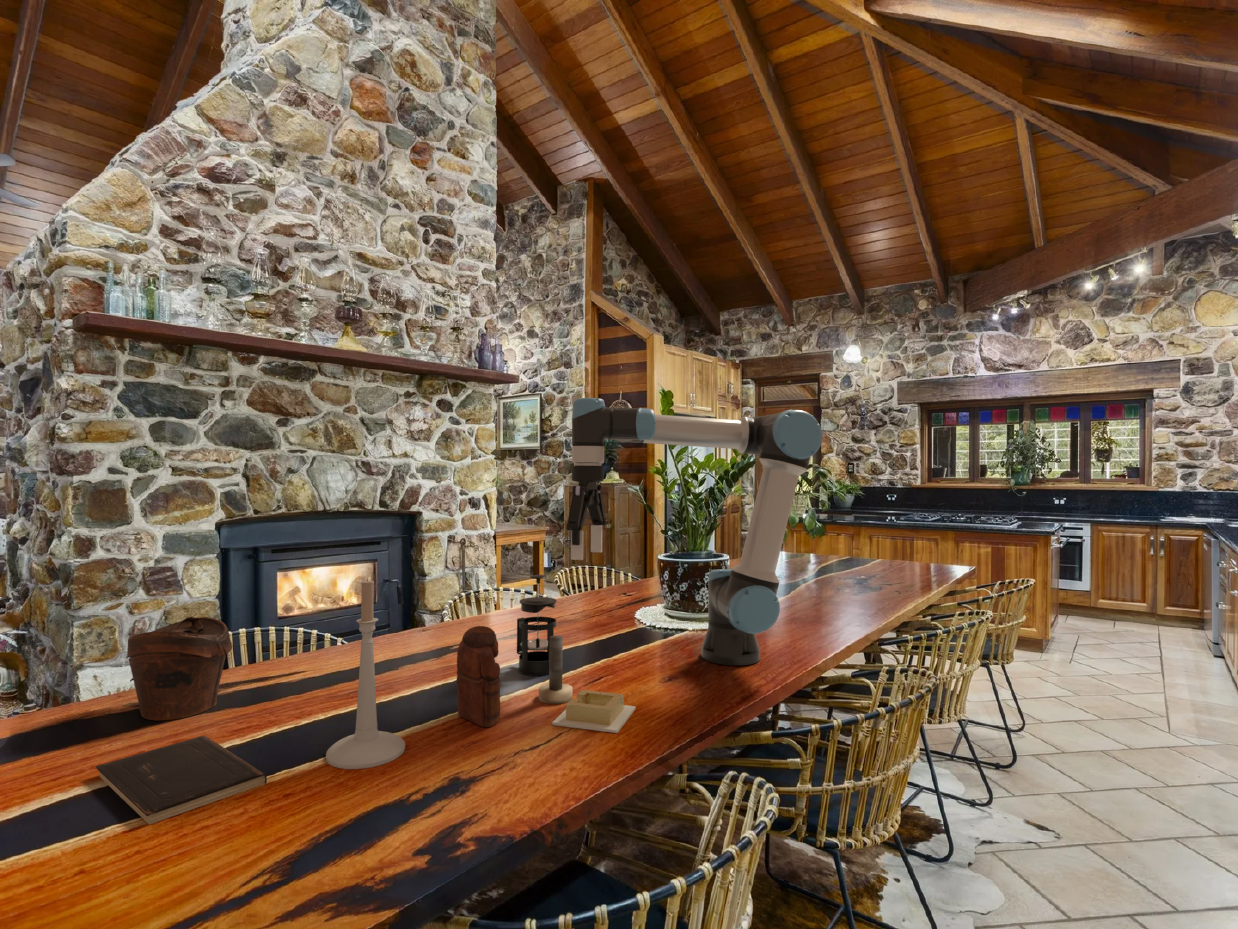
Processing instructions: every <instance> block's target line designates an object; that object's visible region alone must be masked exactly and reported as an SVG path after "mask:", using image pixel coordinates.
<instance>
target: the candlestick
mask: <svg viewBox="0 0 1238 929" xmlns="http://www.w3.org/2000/svg"><path fill="white" fill-rule="evenodd" d="M374 584H375V582H374V580H369V579H368V578H367V579H366V580H363V581H361V591H360V592H361V593H360V594H361V598H360V599H361V600H360V601H361V604H360V605H361V606H360V607H361V610H360V611H361V612H360V614H361V617H360V618H359V619H357V620H356V621H355V622H357V623H358V625H359V627H358V630H359V632H360V633H361V637H362V638H361V641H360V655H359V672H358V673H359V674H358V687H357V688H358V689H357V700H356V703H357V704H356V705H357V706H356V718H355V719H356V720H355V730H354V734H351V735H347V736H345V737H343V738H341V739H339V740H337V741H336V742H335V743H333V744H332V745H331V746H330V747H329V748H328V749H327V750H326V752H325V760H326V763H327V764H328V765H330V766H331V767H335V768H338V769H343V770H344V769H345V770H359V769H369V768H374V767H378V766H382V765H385V764H387V763H390V762H393V761H394V760H396V759H397V758H399V757H400V756H402V754H404V752H405V750H406V742H405V740H404V739H403V738H402V737H400V736H399V735H397V734H395V733H393V732H389V731H382V730H379V729H378V718H377V717H378V716H377V701H376V700H377V697H376V695H377V694H376V693H377V692H376V677H375V676H376V674H375V654H374V653H375V651H374V650H375V649H374V640H373V633H374V631H375V630H376V622H378V621H379V618H377V617H374V599H375V598H374V597H375V594H374V592H375V591H374V590H375V585H374Z"/></svg>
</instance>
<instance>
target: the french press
mask: <svg viewBox="0 0 1238 929" xmlns="http://www.w3.org/2000/svg"><path fill="white" fill-rule="evenodd" d="M529 578H530V579H534V580H536V582H535V583H536V584H537V586H536V587H537V592H536V593H537V596H535V597H534V596H532V597H526V598H522V599H520V600H519V604H520V606H521V608H520V610H521V612H525V613H530V614H531V613H532V614H537V615H536V616H530V617H529V616H528V617H519V618H517V619H516V655H519V656H518V669H517V671H518V672H519V674H522V675H525V676H531V677H534V676H535V677H538V676H539V677H540V676H547V675H549V643H550V636H555V635H554V634H555V633H554V631H555V630H554V629H555V628H557V619H556V618H554V617H549V616H540V612H541V611H543V610H544V609H545V608H546V607H548V608H553V609H555V608H556V603H557V599H556V598H552V597H548V596H546V597H544V596H540V584H541V580H542V579H546V578H548V577H547V575H543V574H534V575H530V576H529ZM541 622H542V623H545V624H540V623H541ZM529 623H536V624H529ZM529 631H536V639H535V638H534V639H529ZM540 631H547V632H546V635H547V636H546V637H547V638H546V639H545V638H544V639H543V638H542V639H541V638H539V636H540V635H539V632H540Z"/></svg>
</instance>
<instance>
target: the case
mask: <svg viewBox="0 0 1238 929" xmlns="http://www.w3.org/2000/svg"><path fill="white" fill-rule="evenodd" d="M126 650H127V651H126V652H127V653H126V659H128V662H129V667H130V672H131V675H132V678H130V681H129V682H130V683H131V682H132V681H133V684H134V688H135V689H134V690H135V694H136V698H137V702H138V705H139V711H140V715H141V718H143V719H146V720H148V721H156V722H157V721H170V720H171V721H172V720H179V719H183V718H188V717H192V716H195V715H198V714H201V713H204V712H206V711H208V710H210V709H212V708H214V707H215V706H216V705H217V702H218V693H219V688H220V683H221V678H222V675H223V669H224V665H225V660H226V657H227V656H226V655H228V654H229V653H231V651H232V650H233V643H232V640H231V637H230V632H229V628H228V627H227V625H226V624H225V622H223V621H221V620H219V619H217V618H213V617H208V616H205V617H203V616H202V617H195V616H189V617H186V618H184V619H182V620H181V621H176V622H174V623H171V624H169V625H165V626H163V627H160V628H159V627H158V628H157V629H155V630H151V631H147V632H142V633H138V634H135V635H132V636H130V637H128V638H127V649H126Z"/></svg>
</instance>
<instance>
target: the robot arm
mask: <svg viewBox="0 0 1238 929" xmlns="http://www.w3.org/2000/svg"><path fill="white" fill-rule="evenodd" d="M571 412H572V415H571V445H572V446H571V450H570V451H569V453H570V455H571V462H572V463H573V464H574V465H572V467H571V480H572V481H573V482H577V483H578V485H573V486H572V496H571V501H570V508H569V511H568V512H569V513H568V518H567V524H566V531H570V560H572V561H573V560H576V561H577V560H578V561H583V560H584V539H585V538H584V530H583V527H584V523H585V519H586V515H587V512H588V513H589V516H590V520H591V525H590V553H603V526H606V525H607V520H606V512H605V507H604V499H603V492H602V491H603V490H602V488H603V487H602V486H603V485H602V484H597V483H598V482H600V483H601V482H603V481H605V467H604V466H603V465H602V464H604V463H605V440H613V441H615V442H616V443H637V444H639V443H640V444H641V443H643V444H653V445H654V444H656V445H671V446H685V447H701V448H702V447H703V448H717V449H729V450H737V452H738V453H740V454H746V455H747V454H749V455H754V456H759V459H758V460H759V463H760V464H761V465H762V468H763V470H762V473H761V477H760V481H759V485H758V488H757V493H756V498H755V501H754V506H753V509H752V514H751V517H750V521H749V526H748V529H747V533H746V538H745V542H744V545H743V549H742V554H741V557H740V561H739V563H738V564H737V565H735V566H734V567H732V568H731V569H730V568H729V569H726V568H725V569H721V568H720V569H718V568H717V569H712V570H711V571H709V572H708V580H707V584H708V599H707V600H708V606H707V607H708V610H707V611H708V612H707V613H708V618H707V619H708V621H707V623H708V624H707V630H706V633H705V636H704V639H703V642H702V645H701V648H700V650H701V651H700V652H701V653H700V654H701V658H702V659H703V660H705V661H707V662H709V663H712V664H717V665H718V664H719V665H723V666H748V665H753V664H754V665H755V664H756V663H759V662H760V660H761V648H760V646H759V643H758V640H757V636H756V635H758V634H761V633H764V632H766V631H768V630H769V629H771V628H772V627H773V626H775V624H776V622H777V621H778V620H779V616H780V610H781V606H780V601H779V598H778V595H777V594H778V590H779V585H780V579H779V578H778V576H777V575H776V570H777V566H778V563H779V559H780V554H781V550H782V546H783V542H784V538H785V534H786V529H787V525H788V522H789V517H790V513H791V510H792V505H793V502H794V497H795V493H796V490H797V486H798V482H799V478H800V476H801V475H803V474H804V473H806V472H807V471H808V470H809V469H808V468H809V465H810V460H811V458H812V457H813V456H814V455H815V454H816V453H817V452H818V451H819V450H820V447H821V445H822V442H823V431H822V427H821V425H820V423H819V422H818V420H817V418H815V416H814V415H813V414H811V413H810V412H808V411H804V410H800V409H787V410H784V411H781V412H777V413H776V412H775V413H770V414H766V415H760V416H741V417H740V418H739V419H726V418H714V417H712V418H710V417H698V416H695V417H694V416H682V415H669V414H668V415H667V414H656V413H655V411H654V410H653V409H652V408H644V407H609V406H608V407H607V406H606V405H605V400H604V399H602V398H597V397H595V398H594V397H580V398H576V399H575V400H574V401H573V402H572V411H571Z"/></svg>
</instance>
